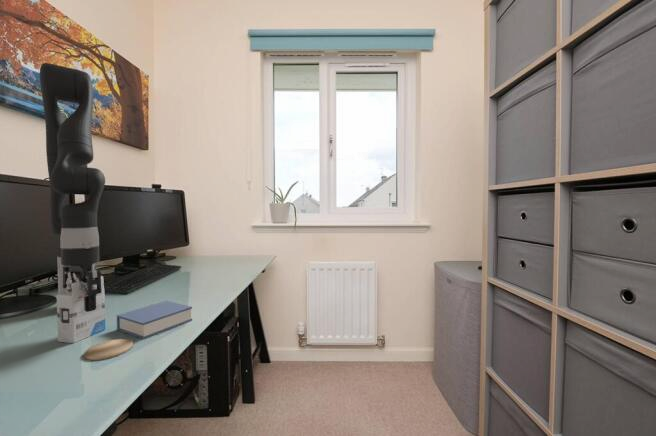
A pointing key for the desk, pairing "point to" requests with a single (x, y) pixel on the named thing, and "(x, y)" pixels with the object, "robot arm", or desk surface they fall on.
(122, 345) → the cork coaster
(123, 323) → the navy book
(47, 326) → the desk surface
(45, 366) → the desk surface
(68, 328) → the ink box
